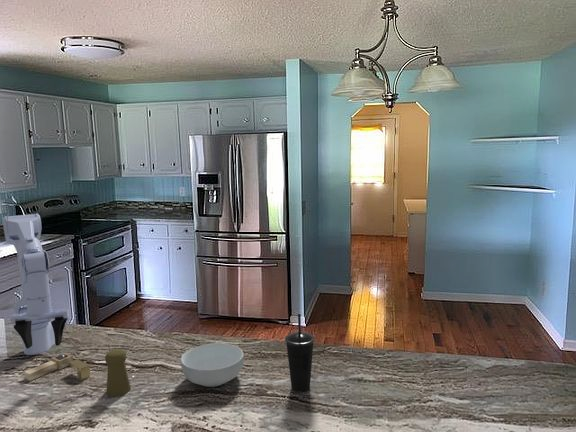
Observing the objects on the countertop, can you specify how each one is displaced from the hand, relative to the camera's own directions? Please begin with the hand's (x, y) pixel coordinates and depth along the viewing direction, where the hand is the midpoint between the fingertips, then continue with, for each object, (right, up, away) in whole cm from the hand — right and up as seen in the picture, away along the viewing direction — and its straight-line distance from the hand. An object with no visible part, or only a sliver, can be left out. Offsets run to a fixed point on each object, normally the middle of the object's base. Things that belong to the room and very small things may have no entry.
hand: (44, 345), depth 120 cm
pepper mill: (+22, -11, -4) cm, 25 cm away
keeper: (+8, -10, +3) cm, 13 cm away
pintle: (0, -9, +9) cm, 13 cm away
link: (-2, -9, +6) cm, 11 cm away
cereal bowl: (+46, -10, +1) cm, 47 cm away
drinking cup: (+70, -10, -4) cm, 71 cm away
